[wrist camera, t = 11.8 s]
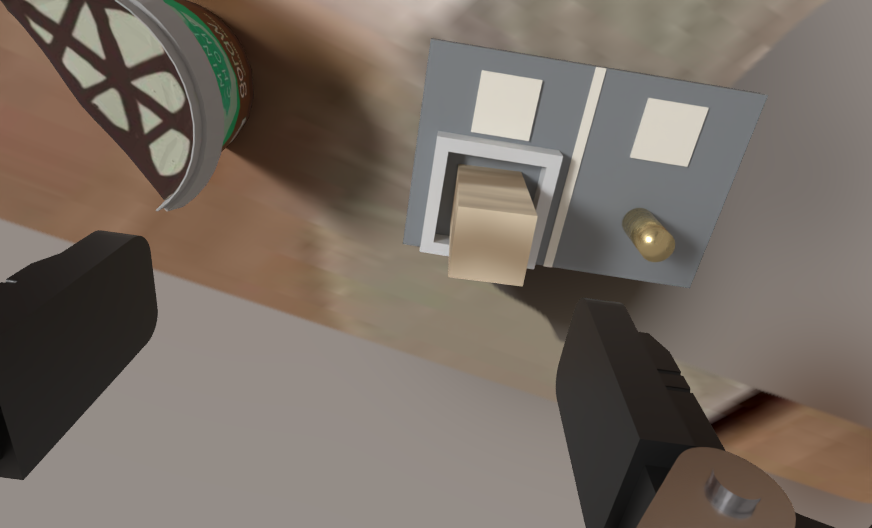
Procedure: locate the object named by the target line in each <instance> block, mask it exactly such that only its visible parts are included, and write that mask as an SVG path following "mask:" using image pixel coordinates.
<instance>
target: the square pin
mask: <svg viewBox="0 0 872 528" xmlns="http://www.w3.org/2000/svg"><path fill="white" fill-rule="evenodd" d="M537 217H538V216H537V213H536V210H535V208H534V205H533V202H532V200H531V197H530V194H529V191H528V189H527V186H526V183H525V181H524V178H523V175H522V173H521V172H519V171H512V170H504V169H496V168H488V167H480V166H472V165H464V164H458V171H457V178H456V185H455V192H454V200H453V207H452V214H451V221H450V243H449V268H448V277H452V278H460V279H468V280H476V281H484V282H492V283H500V284H508V285H516V286H523V282H524V278H525V273H526V269H527V264H528V259H529V255H530V250H531V245H532V241H533V236H534V231H535V226H536V222H537Z"/></svg>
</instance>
